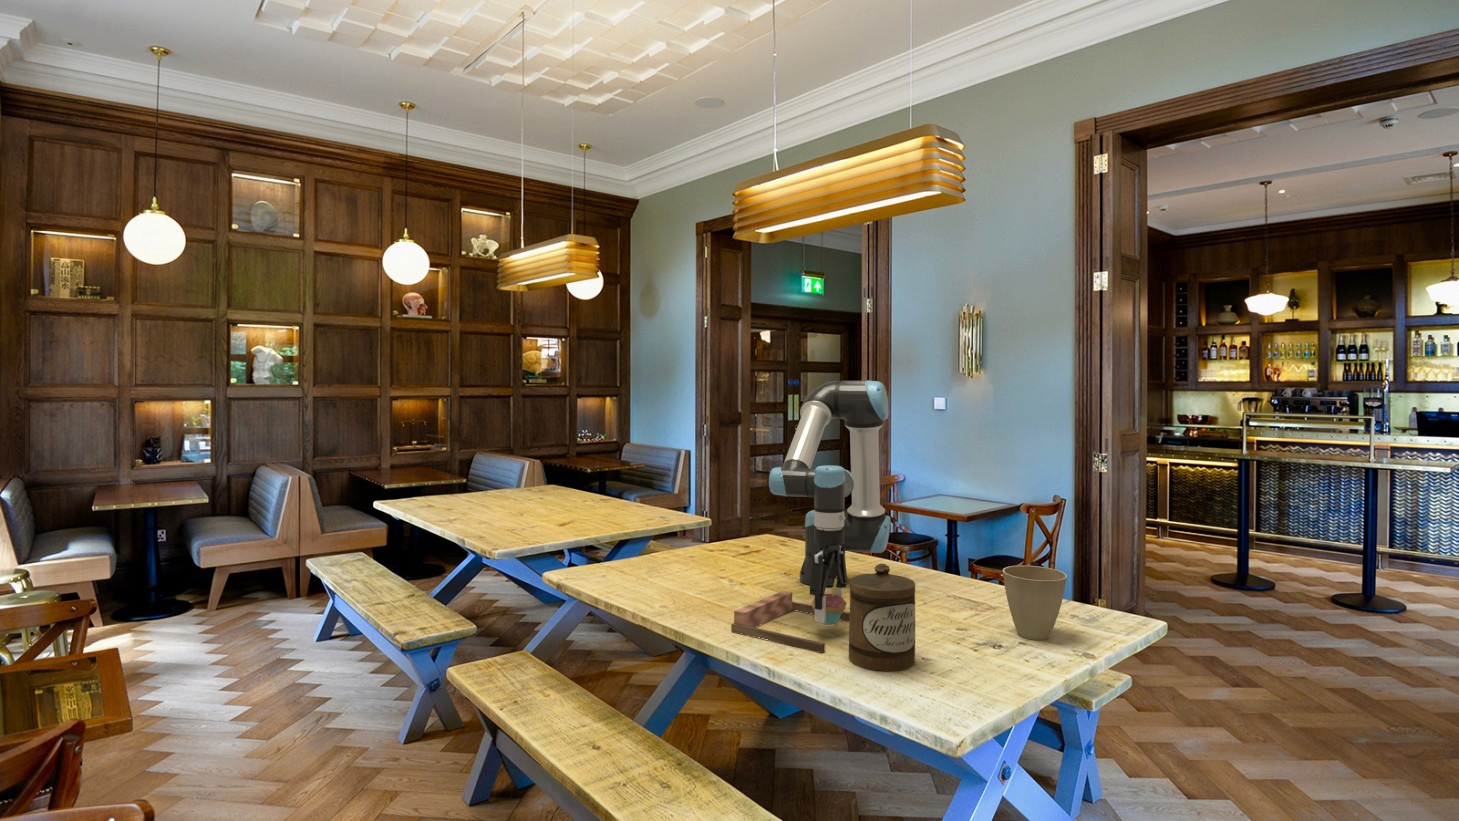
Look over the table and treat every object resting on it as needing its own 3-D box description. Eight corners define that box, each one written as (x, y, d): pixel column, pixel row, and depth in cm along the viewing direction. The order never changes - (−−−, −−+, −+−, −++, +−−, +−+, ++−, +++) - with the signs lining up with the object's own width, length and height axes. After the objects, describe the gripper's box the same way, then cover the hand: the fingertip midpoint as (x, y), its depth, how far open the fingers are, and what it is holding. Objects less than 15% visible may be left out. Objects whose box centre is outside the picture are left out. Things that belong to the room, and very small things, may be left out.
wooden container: (872, 676, 162) (873, 574, 161) (836, 653, 176) (837, 560, 175) (928, 666, 168) (929, 568, 167) (889, 645, 182) (890, 554, 181)
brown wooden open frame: (785, 607, 212) (785, 589, 212) (870, 624, 197) (870, 605, 197) (731, 631, 191) (731, 612, 191) (822, 653, 176) (822, 631, 176)
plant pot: (989, 630, 193) (989, 568, 192) (1033, 623, 199) (1034, 563, 198) (1033, 649, 179) (1034, 582, 179) (1079, 640, 185) (1080, 576, 185)
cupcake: (849, 619, 192) (850, 573, 191) (840, 629, 184) (840, 580, 184) (817, 615, 195) (817, 569, 195) (806, 624, 188) (807, 577, 187)
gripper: (822, 536, 178) (822, 631, 179) (861, 523, 195) (860, 609, 196) (795, 532, 183) (794, 625, 183) (835, 520, 200) (834, 604, 201)
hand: (828, 617), depth 190 cm, fingers closed on cupcake, 8 cm apart
